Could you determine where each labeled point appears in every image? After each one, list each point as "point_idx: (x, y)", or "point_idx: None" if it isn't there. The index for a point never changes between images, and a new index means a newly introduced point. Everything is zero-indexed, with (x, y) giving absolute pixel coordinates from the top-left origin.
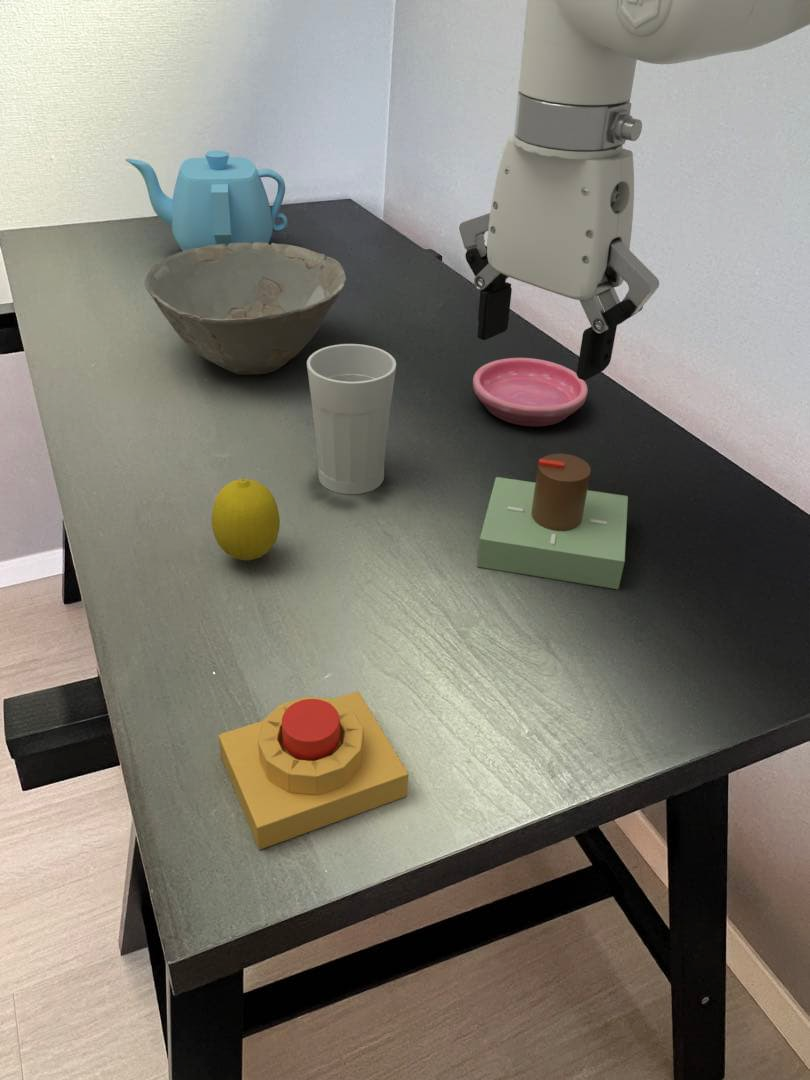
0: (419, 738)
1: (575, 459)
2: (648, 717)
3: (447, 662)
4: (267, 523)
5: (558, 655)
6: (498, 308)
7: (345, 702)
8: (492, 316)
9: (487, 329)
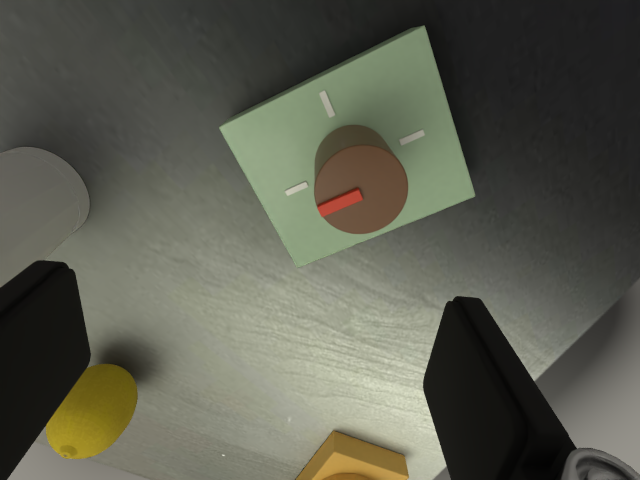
0: (384, 423)
1: (366, 157)
2: (538, 320)
3: (357, 363)
4: (124, 419)
5: (439, 305)
6: (20, 389)
7: (334, 462)
8: (44, 397)
9: (72, 379)
